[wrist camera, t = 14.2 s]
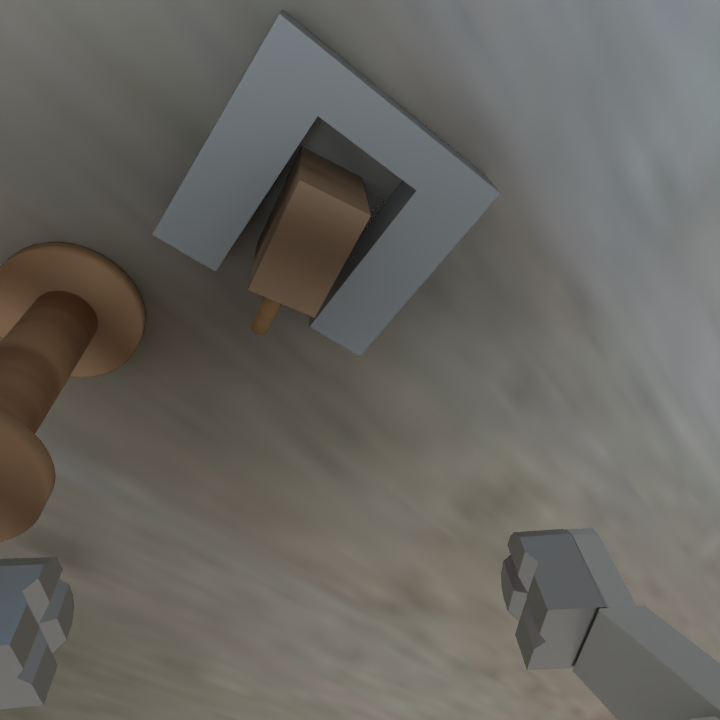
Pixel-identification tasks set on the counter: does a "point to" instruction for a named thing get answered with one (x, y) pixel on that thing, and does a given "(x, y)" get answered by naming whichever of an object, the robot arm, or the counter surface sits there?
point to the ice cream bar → (307, 237)
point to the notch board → (366, 130)
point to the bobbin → (53, 356)
